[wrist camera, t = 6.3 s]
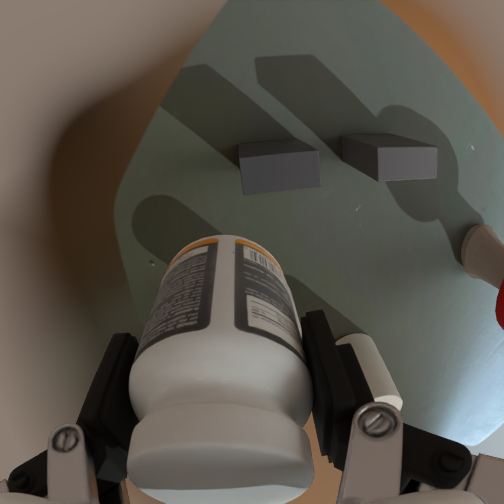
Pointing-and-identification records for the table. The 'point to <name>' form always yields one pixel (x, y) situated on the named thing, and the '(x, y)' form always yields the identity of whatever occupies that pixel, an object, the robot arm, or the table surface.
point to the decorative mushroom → (485, 261)
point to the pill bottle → (221, 382)
